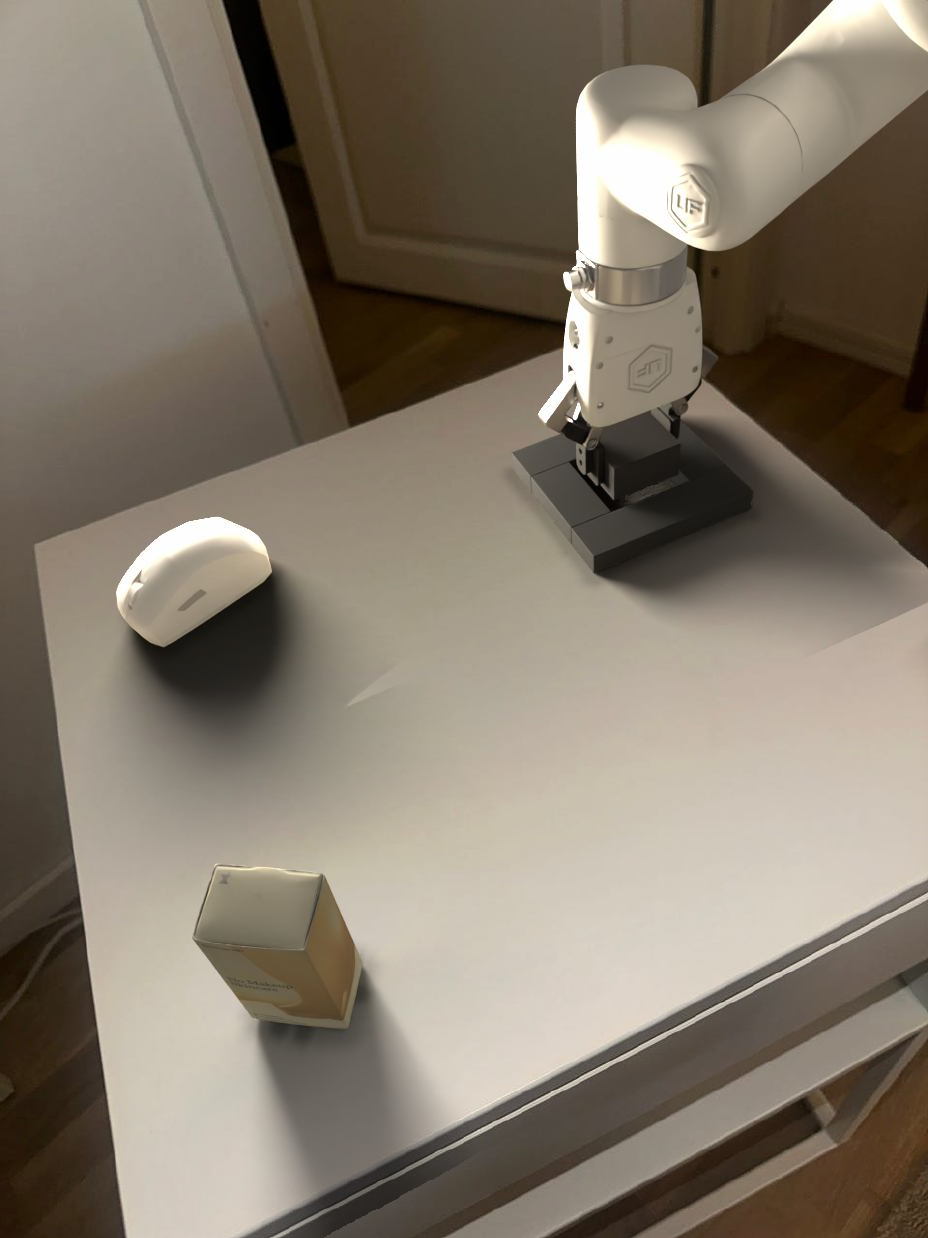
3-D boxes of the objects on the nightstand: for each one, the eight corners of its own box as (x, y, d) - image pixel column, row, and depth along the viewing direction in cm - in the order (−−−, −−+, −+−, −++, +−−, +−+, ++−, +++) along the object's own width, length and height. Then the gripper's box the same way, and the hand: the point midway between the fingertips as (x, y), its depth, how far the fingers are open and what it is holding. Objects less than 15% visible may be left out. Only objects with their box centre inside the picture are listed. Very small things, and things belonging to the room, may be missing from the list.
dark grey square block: (640, 434, 85) (641, 403, 82) (678, 474, 81) (681, 443, 78) (577, 458, 83) (577, 427, 81) (613, 500, 80) (614, 469, 77)
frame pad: (656, 413, 90) (657, 396, 88) (751, 508, 81) (754, 490, 79) (512, 469, 87) (511, 452, 86) (594, 574, 78) (593, 556, 76)
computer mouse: (117, 616, 81) (87, 565, 76) (244, 534, 85) (223, 481, 81) (155, 657, 77) (125, 606, 72) (285, 569, 82) (266, 516, 77)
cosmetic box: (250, 1020, 57) (182, 940, 48) (269, 949, 60) (208, 860, 51) (354, 1032, 56) (305, 952, 47) (368, 959, 59) (325, 870, 50)
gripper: (548, 329, 64) (558, 524, 78) (768, 250, 67) (740, 450, 81) (500, 279, 69) (517, 471, 82) (707, 208, 72) (691, 403, 86)
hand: (627, 459), depth 81 cm, fingers closed on dark grey square block, 6 cm apart
